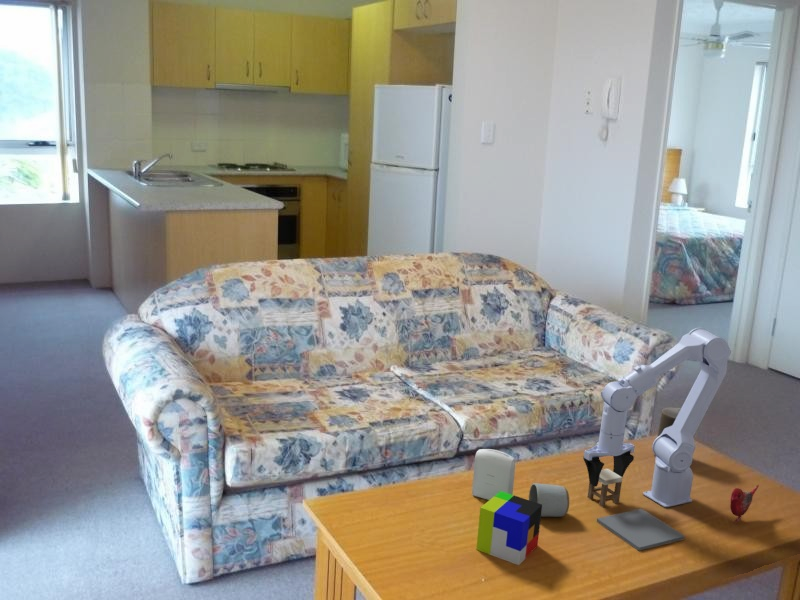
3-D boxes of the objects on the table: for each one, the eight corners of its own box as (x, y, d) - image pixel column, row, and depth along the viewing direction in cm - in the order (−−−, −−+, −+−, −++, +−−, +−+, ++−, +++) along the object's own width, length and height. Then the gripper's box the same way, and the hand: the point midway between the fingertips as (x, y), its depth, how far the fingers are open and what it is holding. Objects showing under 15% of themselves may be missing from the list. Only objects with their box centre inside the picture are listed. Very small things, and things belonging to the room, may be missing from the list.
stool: (604, 493, 210) (607, 468, 208) (618, 503, 205) (622, 477, 204) (587, 497, 207) (590, 471, 206) (602, 507, 203) (605, 480, 201)
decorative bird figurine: (720, 528, 196) (727, 489, 194) (748, 505, 209) (755, 468, 207) (732, 532, 194) (739, 493, 192) (760, 509, 207) (767, 472, 205)
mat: (640, 511, 202) (641, 508, 202) (684, 539, 190) (685, 536, 190) (596, 521, 195) (596, 518, 195) (638, 550, 183) (639, 547, 183)
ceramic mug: (569, 522, 194) (572, 492, 192) (535, 522, 193) (538, 491, 191) (555, 501, 204) (558, 472, 203) (523, 501, 203) (526, 472, 202)
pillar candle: (656, 463, 231) (665, 413, 227) (652, 449, 240) (660, 400, 236) (692, 468, 229) (701, 417, 226) (686, 454, 239) (695, 405, 235)
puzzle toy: (518, 565, 174) (523, 522, 172) (476, 549, 179) (480, 507, 177) (537, 546, 183) (542, 504, 180) (496, 531, 188) (500, 491, 185)
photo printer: (468, 495, 204) (473, 449, 201) (475, 489, 208) (479, 443, 205) (508, 507, 199) (513, 459, 197) (514, 500, 203) (519, 453, 200)
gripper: (623, 421, 209) (616, 471, 212) (578, 428, 202) (571, 479, 205) (643, 432, 203) (635, 483, 206) (597, 439, 196) (590, 492, 199)
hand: (605, 482), depth 205 cm, fingers open, 7 cm apart
